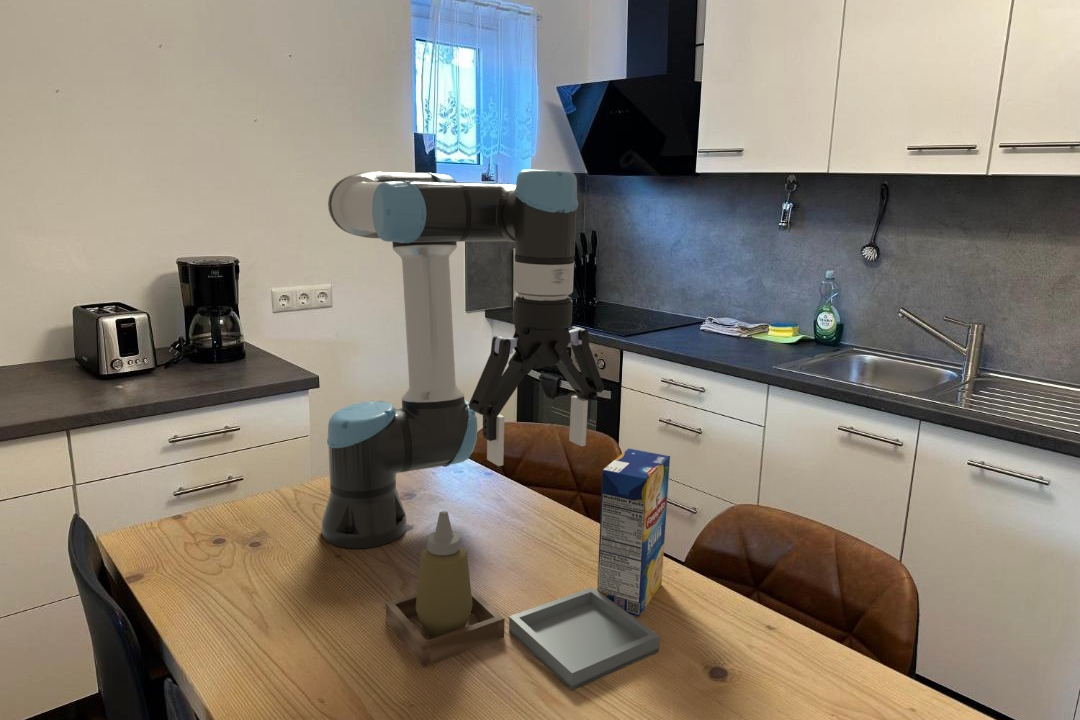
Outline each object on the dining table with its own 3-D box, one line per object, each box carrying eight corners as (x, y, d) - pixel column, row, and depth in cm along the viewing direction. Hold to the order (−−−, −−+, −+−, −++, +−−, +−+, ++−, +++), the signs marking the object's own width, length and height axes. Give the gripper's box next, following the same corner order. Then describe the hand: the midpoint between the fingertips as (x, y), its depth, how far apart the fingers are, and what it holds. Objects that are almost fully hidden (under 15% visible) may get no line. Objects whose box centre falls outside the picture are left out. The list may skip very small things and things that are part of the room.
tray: (508, 631, 105) (509, 616, 104) (591, 601, 113) (592, 587, 113) (571, 690, 93) (572, 673, 92) (658, 651, 101) (659, 635, 101)
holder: (386, 621, 107) (385, 602, 106) (462, 597, 114) (462, 579, 113) (423, 667, 97) (423, 647, 96) (504, 637, 104) (504, 618, 103)
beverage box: (596, 605, 112) (602, 470, 108) (622, 573, 122) (628, 448, 117) (638, 617, 109) (646, 479, 105) (661, 584, 119) (670, 456, 114)
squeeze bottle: (462, 650, 101) (462, 529, 97) (407, 641, 102) (404, 522, 98) (479, 617, 108) (480, 504, 104) (427, 610, 110) (426, 498, 106)
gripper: (474, 307, 83) (472, 481, 88) (635, 293, 97) (625, 443, 103) (442, 297, 89) (441, 461, 94) (598, 285, 103) (591, 428, 108)
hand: (537, 452), depth 98 cm, fingers open, 13 cm apart
